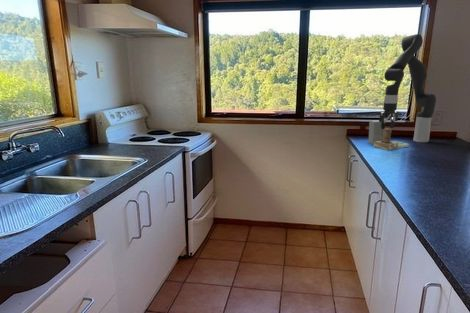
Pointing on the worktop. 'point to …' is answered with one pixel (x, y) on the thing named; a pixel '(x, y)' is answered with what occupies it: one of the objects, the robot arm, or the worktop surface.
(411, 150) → the worktop surface
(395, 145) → the pocket block
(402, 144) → the tray
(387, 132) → the dowel
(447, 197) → the worktop surface
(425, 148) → the worktop surface
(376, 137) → the skincare box
